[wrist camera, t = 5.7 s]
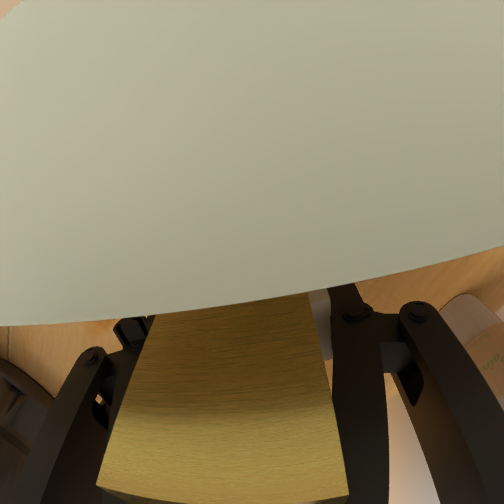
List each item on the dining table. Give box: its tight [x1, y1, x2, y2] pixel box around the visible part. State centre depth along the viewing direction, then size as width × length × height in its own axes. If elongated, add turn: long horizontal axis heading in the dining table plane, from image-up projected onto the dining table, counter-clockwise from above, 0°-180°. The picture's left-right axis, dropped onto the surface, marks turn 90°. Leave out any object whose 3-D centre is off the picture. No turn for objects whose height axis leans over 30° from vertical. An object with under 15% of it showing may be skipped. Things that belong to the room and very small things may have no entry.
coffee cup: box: [438, 294, 504, 411], centre depth 14 cm, size 9×9×15 cm
